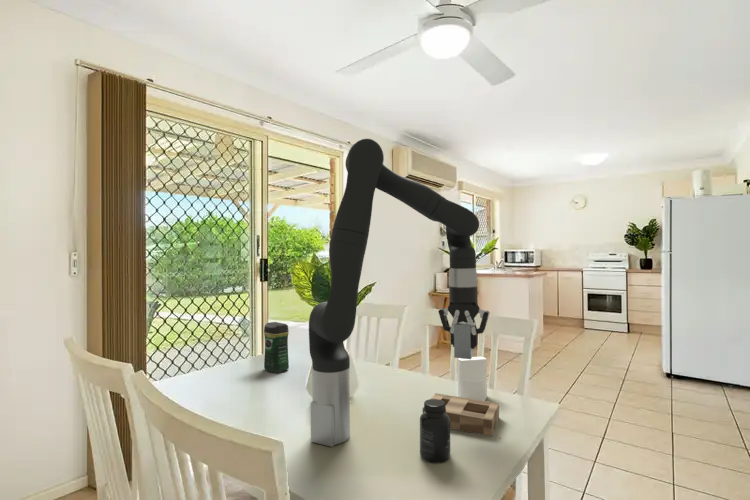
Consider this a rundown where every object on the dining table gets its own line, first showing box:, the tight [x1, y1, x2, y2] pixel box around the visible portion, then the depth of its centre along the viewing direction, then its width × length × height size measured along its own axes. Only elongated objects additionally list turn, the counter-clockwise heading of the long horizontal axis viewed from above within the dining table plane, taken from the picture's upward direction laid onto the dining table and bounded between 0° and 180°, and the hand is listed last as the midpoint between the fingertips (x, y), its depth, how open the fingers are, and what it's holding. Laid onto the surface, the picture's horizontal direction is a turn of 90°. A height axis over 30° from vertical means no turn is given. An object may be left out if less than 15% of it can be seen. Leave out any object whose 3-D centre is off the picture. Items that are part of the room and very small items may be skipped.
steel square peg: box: [453, 322, 475, 359], centre depth 106 cm, size 4×4×9 cm
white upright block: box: [457, 356, 488, 401], centre depth 123 cm, size 9×9×12 cm
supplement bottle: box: [419, 398, 451, 464], centre depth 87 cm, size 7×7×12 cm
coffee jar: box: [263, 321, 290, 373], centre depth 152 cm, size 10×8×19 cm
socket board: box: [422, 393, 500, 437], centre depth 106 cm, size 12×18×4 cm, turn 64°
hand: (464, 347), depth 106 cm, fingers closed on steel square peg, 4 cm apart
